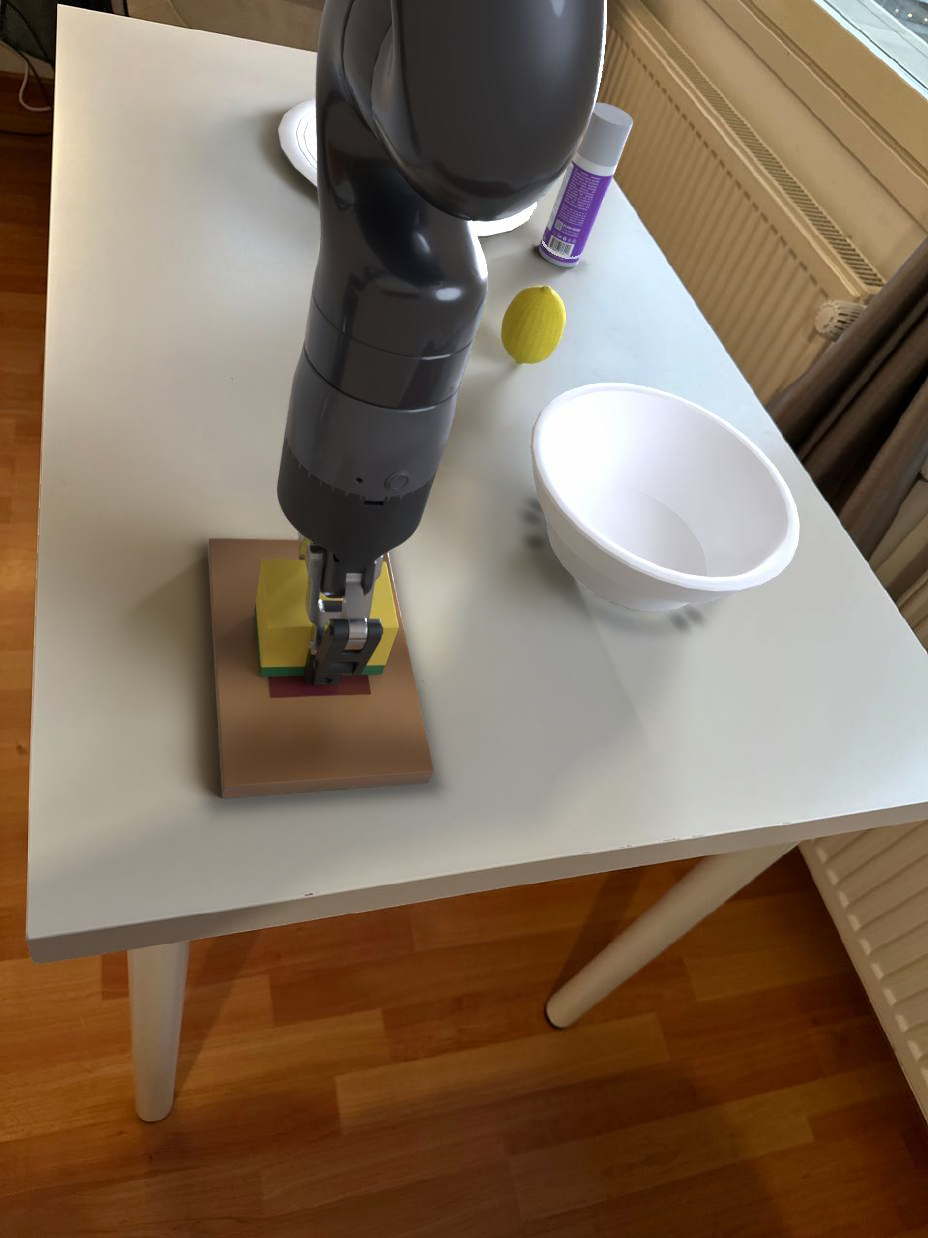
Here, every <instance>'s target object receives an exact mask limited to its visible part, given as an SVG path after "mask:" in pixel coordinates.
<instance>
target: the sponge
mask: <svg viewBox="0 0 928 1238" xmlns="http://www.w3.org/2000/svg"><path fill="white" fill-rule="evenodd" d="M307 582H308V572H307V568H306V564H305V560H285V559H262V560H261V566H260V573H259V581H258V588H257V595H256V602H255V609H254V614H255V627H256V639H257V652H258V665H259V676H260V677H277V676H304V668H305V664H306V659H307V655H308V651H309V640H311V630H312V623H311V622H310V621H309V619H308V615H307V611H306V607H305V601H306V592H307ZM319 599H320V600H342V599H341V598H327V597H325V596H324V595H323V594H322V593H321V592H320V598H319ZM369 619H380V620H381V623H382V626H383V635H382V638H381V641H380V643H379V645H378V646H377V648H376V650H375V651H374V653H373V655H372V656H371V658H370V660H369V662H368V663H367V665H366V667H365V668H364V670H363V672H362V673H361V674H360V675H374V674H382V673H383V670H384V668H385V664H386V661H387V659H388V656H389V653H390V650H391V647H392V644H393V642H394V639H395V636H396V633H397V630H398V627H399V626H398V621H397V616H396V610H395V605H394V600H393V595H392V590H391V584H390V579H389V574H388V569H387V564H386V562H382V569H381V575H380V577H379V578H378V579H377V580H376V581H375V585H374V592H373V599H372V606H371V612H370V618H369ZM327 628H328V627H327V624H326V625H325V627H324V633H325V632H326V630H327ZM343 675H352V674H343Z"/></svg>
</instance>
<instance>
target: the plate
mask: <svg viewBox="0 0 928 1238" xmlns="http://www.w3.org/2000/svg"><path fill="white" fill-rule="evenodd" d="M277 128H278V129H277V134H278V139H279V144H280V149H281V151H282V153H283V154H284V156H285V157H286V158H287V160H288V162H289V163H290V165H291V166H292V167H293V169H294V170H295V171H296V172H297V173H298V174H300V175H301V176H302V177H303V178H304V179H305V180H306V181H307V182H309V183H310V184H311V185H312V186H313V187H314V188H316V189H317V154H316V97H314V98H311V99H308V100H305V101H302V102H299V103H296V105H294V106H293V107H292V108H290V109H289V110H287V112H285V113H284V114H283V116H282V119H281V121H280V123H279V126H278V127H277ZM536 208H537V202H536V203H535V204H533V205H532V206H531V207H529V208H527V209H526V210H524V211H522V212H520V213H518V214H516V215H513V216H511V217H509V218H505V219H501V220H497V221H491V222H473V221H472V222H473V226H474V229H475V232H476V235H477V238H478V239H482V238H483V239H484V238H491V237H494V236H499V235H502V234H508V233H511V232H513V231H515V230H517V229H518V228H519V227H521V226H523V225H524V224H526V223H527V222H529V220H530V218H531V217H530V216H532V215H533V213H534V212H533V211H535V210H536ZM534 209H535V210H534Z"/></svg>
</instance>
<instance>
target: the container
mask: <svg viewBox="0 0 928 1238" xmlns="http://www.w3.org/2000/svg"><path fill="white" fill-rule="evenodd" d="M633 124H634V119H633V118H632V116H631V115H630V114H628V113H627V112H626V111H624V110H623V109H622V108H619V107H617V106H615V105H612V104H609V103H604V102H595V106H594V109H593V112H592V116H591V119H590V122H589V125H588V127H587V130H586V133H585V135H584V137H583V140H582V142H581V144H580V146H579V148H578V150H577V152H576V154H575V156H574V158H573V159H572V161H571V163H570V164H569V166H568V168H567V169H566V171H565V172H564V174H563V178H562V181H561V184H560V187H559V189H558V193H557V196H556V198H555V200H554V204H553V206H552V209H551V212H550V215H549V217H548V221H547V223H546V226H545V229H544V232H543V234H542V237H543V241H544V242H545V244H546V245H547V247H549V248H550V249H552V250H553V251H555V252H556V253H559V254H561V255H564V256H567V257H572V256H573V257H575V256H578V255H580V254H581V253H582V254H583V252H584V250H585V247H586V245H587V242H588V240H589V237H590V235H591V232H592V230H593V227H594V226H595V222H596V219H597V217H598V215H599V213H600V210H601V207H602V205H603V202H604V200H605V198H606V195H607V193H608V190H609V189H610V185H611V183H612V180H613V178H614V175H615V172H616V169H617V168H618V167H617V166H618V165H619V162H620V160H621V156H622V153H623V151H624V149H625V145H626V143H627V140H628V138H629V135H630V132H631V130H632V127H633ZM538 252H539V254H540V255H541V257H542V258H543V259H544V260H546V261H547V262H549V263H551V264H552V265H555V266H559V267H563V268H573V267H576V266H577V265H578V264H579V262H580V260H581V257H582V255H581V256H580V257H579V258H577V259H565V258H562V257H559V256H556V255H554V254H552V253H551V252H549V251H548V250H547V249H546V248H545V247H544V246H543V244H542V239H541V240H540V243H539V246H538Z"/></svg>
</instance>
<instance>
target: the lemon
mask: <svg viewBox="0 0 928 1238" xmlns="http://www.w3.org/2000/svg"><path fill="white" fill-rule="evenodd" d="M565 307H566V306H565V304H564V301H563V299H562V298H561V296H560V295H559V294H558V293H557V292H556V291H555V290H554V289H552V287H551V286H550V285H532V286H527V287H525V288H523V289H522V290H521V291H519V292H518V293H516V295H515V296H514V297H513V299H512V300H511V301H510V303H509V304H508V307H507V309H506V310H505V311H504V315H503V317H502V321H501V328H500V336H501V343H502V346H503V348H504V350H505V352H506V353H507V354H508V356H510V357H511V358H512V359H513V360H515V362H516V363H517V364H518V365H524V364H527V365H530V364H531V365H533V364H538V363H540V362H543V361H545V360H546V359H548V358H549V357H550V356H551V355H552V354H553V353H554V352H555V351H556V349H557V348H558V346H559V344H560V343H561V340H562V338H563V335H564V331H565V326H566V319H567V314H566V313H567V312H566V308H565Z"/></svg>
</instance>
